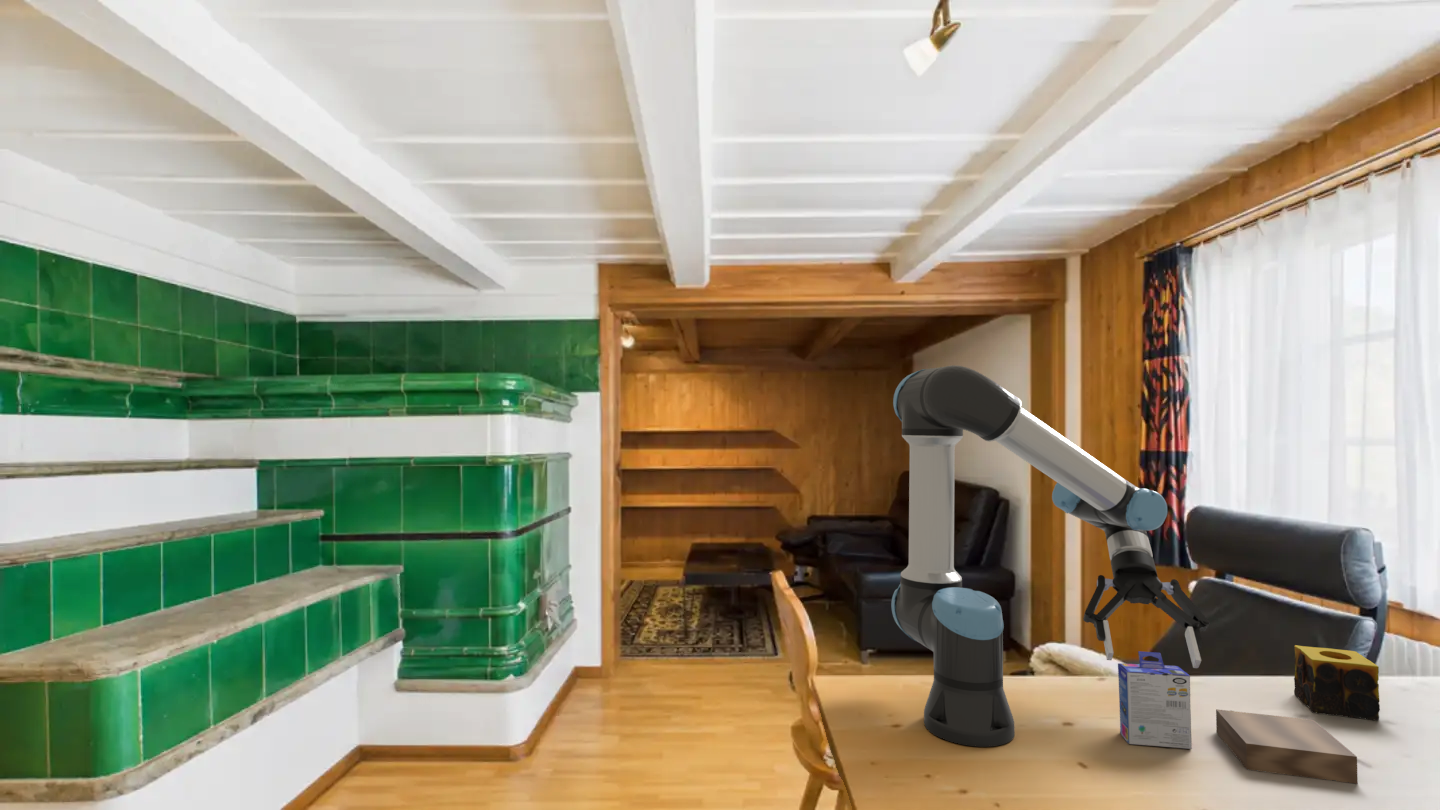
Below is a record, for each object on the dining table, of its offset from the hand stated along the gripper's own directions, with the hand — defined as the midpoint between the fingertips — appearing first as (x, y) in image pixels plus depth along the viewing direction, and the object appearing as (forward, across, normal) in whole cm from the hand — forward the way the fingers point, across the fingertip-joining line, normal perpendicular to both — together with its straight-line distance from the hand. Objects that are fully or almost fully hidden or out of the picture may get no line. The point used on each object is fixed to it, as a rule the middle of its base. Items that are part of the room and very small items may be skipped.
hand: (1153, 660), depth 127 cm
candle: (-6, -35, -23) cm, 42 cm away
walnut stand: (+13, -17, -4) cm, 21 cm away
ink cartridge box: (+13, +1, -4) cm, 13 cm away
